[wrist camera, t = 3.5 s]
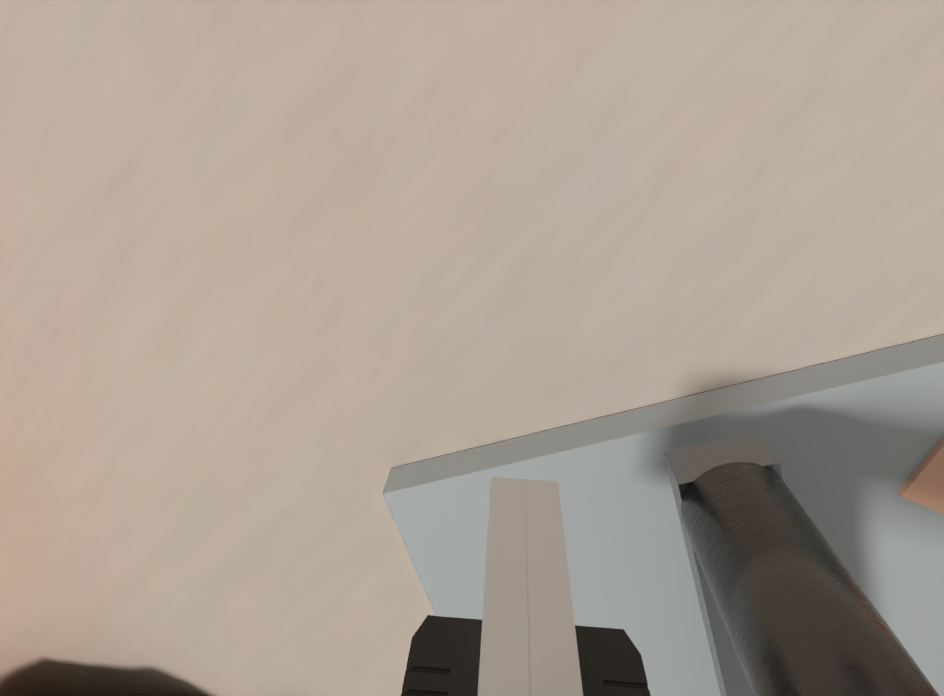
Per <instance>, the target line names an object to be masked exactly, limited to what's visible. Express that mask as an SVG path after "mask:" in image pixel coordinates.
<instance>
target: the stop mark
mask: <svg viewBox="0 0 944 696" xmlns="http://www.w3.org/2000/svg"><path fill="white" fill-rule="evenodd" d="M897 493H898V494H899V495H900V496H901V497H904V498H906V499H908V500H911V501H913V502H916V503H918V504H921V505H923V506H926V507H928V508H930V509H933V510H935V511H938V512H940V513H943V514H944V437H943V438H942V439H941V441H940V442H939V443H938V444H937V445H936V447H935V448H934V449H933V450H932V451H931V453H930V454H929V455H928V456H927V457H926V458H925V460H924V461H923V462H922V463H921V464H920V466H919V467H918V468H917V469H916V470H915V472H914V473H913V474H912V475H911V476H910V477H909V479H908V480H907V481H906V482H905V483H904V485H903V486H902V487H901V488H900V489H899V490H898V492H897Z"/></svg>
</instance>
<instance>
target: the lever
mask: <svg viewBox="0 0 944 696" xmlns="http://www.w3.org/2000/svg"><path fill="white" fill-rule="evenodd" d="M664 455H665V460H666V464H667V468H668V473H669V477H670V481H671V485H672V490H673V494H674V498H675V502H676V507H677V511H678V515H679V519H680V524H681V528H682V532H683V537H684V541H685V545H686V549H687V554H688V558H689V562H690V566H691V571H692V575H693V579H694V584H695V588H696V592H697V596H698V601H699V605H700V609H701V613H702V618H703V622H704V626H705V630H706V635H707V639H708V643H709V648H710V652H711V656H712V660H713V665H714V669H715V673H716V677H717V682H718V686H719V690H720V694H721V696H939V694H938V693H937V691H936V690H935V689H934V687H933V686H932V685H931V683H930V682H929V680H928V679H927V678H926V676H925V675H924V674H923V672H922V671H921V669H920V668H919V667H918V665H917V664H916V663H915V661H914V660H913V658H912V657H911V656H910V654H909V653H908V652H907V650H906V649H905V647H904V646H903V645H902V643H901V642H900V641H899V639H898V638H897V636H896V635H895V634H894V632H893V631H892V630H891V628H890V627H889V625H888V624H887V623H886V621H885V620H884V619H883V617H882V616H881V614H880V613H879V612H878V610H877V609H876V608H875V606H874V605H873V603H872V602H871V601H870V599H869V598H868V597H867V595H866V594H865V592H864V591H863V590H862V588H861V587H860V586H859V584H858V583H857V581H856V580H855V579H854V577H853V576H852V575H851V573H850V572H849V570H848V569H847V568H846V566H845V565H844V564H843V562H842V561H841V559H840V558H839V557H838V555H837V554H836V553H835V551H834V550H833V548H832V547H831V546H830V544H829V543H828V542H827V540H826V539H825V537H824V536H823V535H822V533H821V532H820V531H819V529H818V528H817V526H816V525H815V524H814V522H813V521H812V520H811V518H810V517H809V515H808V514H807V513H806V511H805V510H804V509H803V507H802V506H801V504H800V503H799V502H798V500H797V499H796V498H795V496H794V495H793V493H792V492H791V491H790V489H789V488H788V487H787V485H786V484H785V482H784V481H783V480H782V473H781V467H780V462H779V461H778V459H777V458H776V457H775V456H774V454H773V453H772V452H771V450H770V449H769V448H768V446H767V445H766V444H765V442H764V441H763V440H762V438H761V437H760V436H759V434H758V433H757V432H756V431H754V432H749V433H745V434H741V435H736V436H732V437H727V438H723V439H719V440H714V441H710V442H706V443H701V444H697V445H692V446H688V447H684V448H679V449H675V450H671V451H666V452H664Z"/></svg>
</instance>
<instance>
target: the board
mask: <svg viewBox="0 0 944 696" xmlns="http://www.w3.org/2000/svg"><path fill="white" fill-rule="evenodd" d="M754 431H756V432H757V433H758V434H759V436H760V437H761V438H762V440H763V441H764V442H765V444H766V445H767V446H768V448H769V449H770V450H771V452H772V453H773V454H774V456H775V457H776V458H777V459H778V461H779V462H780V467H781V473H782V480H783V481H784V482H785V484H786V485H787V487H788V488H789V489H790V491H791V492H792V493H793V495H794V496H795V498H796V499H797V500H798V502H799V503H800V504H801V506H802V507H803V509H804V510H805V511H806V513H807V514H808V515H809V517H810V518H811V520H812V521H813V522H814V524H815V525H816V526H817V528H818V529H819V531H820V532H821V533H822V535H823V536H824V537H825V539H826V540H827V542H828V543H829V544H830V546H831V547H832V548H833V550H834V551H835V553H836V554H837V555H838V557H839V558H840V559H841V561H842V562H843V564H844V565H845V566H846V568H847V569H848V570H849V572H850V573H851V575H852V576H853V577H854V579H855V580H856V581H857V583H858V584H859V586H860V587H861V588H862V590H863V591H864V592H865V594H866V595H867V597H868V598H869V599H870V601H871V602H872V603H873V605H874V606H875V608H876V609H877V610H878V612H879V613H880V614H881V616H882V617H883V619H884V620H885V621H886V623H887V624H888V625H889V627H890V628H891V630H892V631H893V632H894V634H895V635H896V636H897V638H898V639H899V641H900V642H901V643H902V645H903V646H904V647H905V649H906V650H907V652H908V653H909V654H910V656H911V657H912V658H913V660H914V661H915V663H916V664H917V665H918V667H919V668H920V669H921V671H922V672H923V674H924V675H925V676H926V678H927V679H928V680H929V682H930V683H931V685H932V686H933V687H934V689H935V690H936V691H937V693H938V694H939V696H944V514H943V513H940V512H938V511H935V510H933V509H930V508H928V507H926V506H923V505H921V504H918V503H916V502H913V501H911V500H908V499H906V498H904V497H901V496H900V495H899V494H898V493H897V492H898V490H899V489H900V488H901V487H902V486H903V485H904V483H905V482H906V481H907V480H908V479H909V477H910V476H911V475H912V474H913V473H914V472H915V470H916V469H917V468H918V467H919V466H920V464H921V463H922V462H923V461H924V460H925V458H926V457H927V456H928V455H929V454H930V453H931V451H932V450H933V449H934V448H935V447H936V445H937V444H938V443H939V442H940V441H941V439H942V438H943V437H944V334H943V335H939V336H934V337H930V338H926V339H922V340H918V341H914V342H910V343H906V344H901V345H897V346H893V347H889V348H885V349H881V350H877V351H873V352H868V353H864V354H860V355H856V356H852V357H848V358H844V359H840V360H835V361H831V362H827V363H823V364H819V365H815V366H811V367H807V368H802V369H798V370H794V371H790V372H786V373H782V374H778V375H774V376H769V377H765V378H761V379H757V380H753V381H749V382H745V383H741V384H737V385H732V386H728V387H724V388H720V389H716V390H712V391H708V392H704V393H699V394H695V395H691V396H687V397H683V398H679V399H675V400H671V401H666V402H662V403H658V404H654V405H650V406H646V407H642V408H638V409H633V410H629V411H625V412H621V413H617V414H613V415H609V416H605V417H600V418H596V419H592V420H588V421H584V422H580V423H576V424H572V425H567V426H563V427H559V428H555V429H551V430H547V431H543V432H539V433H534V434H530V435H526V436H522V437H518V438H514V439H510V440H506V441H502V442H497V443H493V444H489V445H485V446H481V447H477V448H473V449H469V450H464V451H460V452H456V453H452V454H448V455H444V456H440V457H436V458H431V459H427V460H423V461H419V462H415V463H411V464H407V465H403V466H398V467H394V468H391V470H390V473H389V476H388V479H387V482H386V484H385V487H384V490H383V493H382V494H383V497H384V499H385V501H386V504H387V506H388V508H389V510H390V513H391V515H392V517H393V520H394V522H395V524H396V526H397V529H398V531H399V533H400V536H401V538H402V540H403V542H404V545H405V547H406V549H407V551H408V554H409V556H410V558H411V561H412V563H413V565H414V567H415V570H416V572H417V574H418V577H419V579H420V581H421V583H422V586H423V588H424V590H425V593H426V595H427V597H428V599H429V602H430V604H431V606H432V609H433V611H434V613H435V615H436V616H442V617H455V618H467V619H480V620H482V616H483V600H484V583H485V567H486V551H487V535H488V518H489V502H490V486H491V477H500V478H514V479H529V480H543V481H558V488H559V496H560V505H561V513H562V521H563V530H564V538H565V547H566V555H567V563H568V572H569V580H570V589H571V597H572V605H573V614H574V622H575V625H577V626H589V627H602V628H614V629H624V631H625V632H626V634H627V635H628V636H629V638H630V639H631V641H632V642H633V644H634V645H635V647H636V648H637V650H638V651H639V653H640V654H641V657H642V661H643V665H644V670H645V674H646V678H647V682H648V689H649V691H650V695H651V696H721V694H720V690H719V686H718V682H717V677H716V673H715V669H714V665H713V660H712V656H711V652H710V648H709V643H708V639H707V635H706V630H705V626H704V622H703V618H702V613H701V609H700V605H699V601H698V596H697V592H696V588H695V584H694V579H693V575H692V571H691V566H690V562H689V558H688V554H687V549H686V545H685V541H684V537H683V532H682V528H681V524H680V519H679V515H678V511H677V507H676V502H675V498H674V494H673V490H672V485H671V481H670V477H669V473H668V468H667V464H666V460H665V455H664V452H666V451H671V450H675V449H679V448H684V447H688V446H692V445H697V444H701V443H706V442H710V441H714V440H719V439H723V438H727V437H732V436H736V435H741V434H745V433H749V432H754Z"/></svg>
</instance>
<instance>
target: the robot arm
mask: <svg viewBox="0 0 944 696" xmlns="http://www.w3.org/2000/svg"><path fill="white" fill-rule="evenodd" d="M401 696H651V695H650V691H649V689H648V682H647V678H646V674H645V670H644V665H643V661H642V657H641V654H640V653H639V651H638V650H637V648H636V647H635V645H634V644H633V642H632V641H631V639H630V638H629V636H628V635H627V634H626V632H625V631H624V629H614V628H602V627H589V626H577V625H575V622H574V614H573V605H572V597H571V589H570V580H569V572H568V563H567V555H566V547H565V538H564V530H563V521H562V513H561V505H560V496H559V488H558V481H543V480H529V479H514V478H500V477H491V486H490V502H489V518H488V535H487V551H486V567H485V583H484V600H483V616H482V620H480V619H467V618H455V617H442V616H430V615H428V616H427V617H426V619H425V620H424V622H423V623H422V625H421V626H420V627H419V629H418V630H417V632H416V633H415V634H414V636H413V637H412V641H411V646H410V652H409V657H408V662H407V669H406V672H405V678H404V683H403V688H402V694H401Z"/></svg>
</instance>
